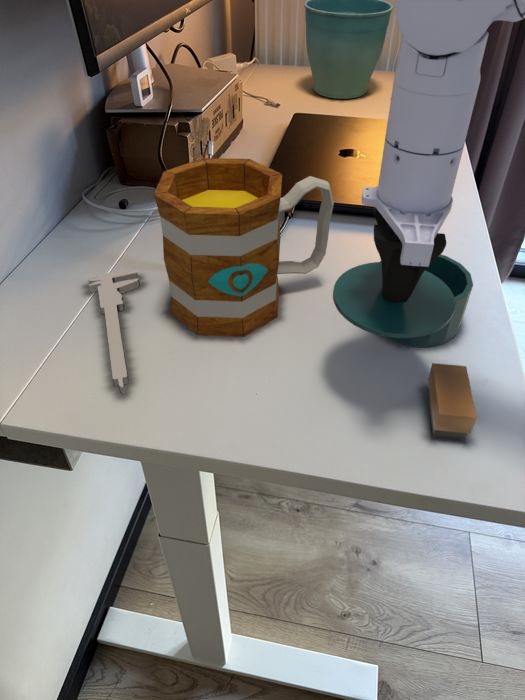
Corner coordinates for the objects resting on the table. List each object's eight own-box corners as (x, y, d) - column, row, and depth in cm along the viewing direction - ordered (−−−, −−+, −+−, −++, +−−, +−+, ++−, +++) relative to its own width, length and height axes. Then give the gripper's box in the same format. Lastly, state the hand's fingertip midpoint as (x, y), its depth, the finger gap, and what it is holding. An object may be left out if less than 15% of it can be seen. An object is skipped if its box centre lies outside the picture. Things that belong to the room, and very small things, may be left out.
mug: (184, 350, 59) (167, 227, 48) (159, 281, 68) (141, 166, 58) (348, 312, 63) (364, 193, 53) (304, 253, 73) (311, 142, 63)
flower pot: (380, 81, 128) (392, -4, 116) (381, 107, 115) (394, 14, 103) (304, 77, 130) (308, -6, 119) (296, 102, 117) (300, 11, 105)
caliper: (141, 277, 69) (91, 280, 68) (140, 270, 68) (89, 273, 68) (127, 393, 54) (63, 398, 53) (125, 386, 53) (60, 391, 53)
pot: (453, 294, 66) (465, 253, 62) (464, 351, 58) (479, 308, 54) (368, 288, 67) (375, 247, 63) (369, 342, 59) (376, 299, 55)
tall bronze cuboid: (457, 391, 54) (466, 366, 52) (466, 442, 49) (476, 417, 47) (425, 387, 54) (432, 362, 52) (430, 438, 50) (438, 413, 47)
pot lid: (446, 275, 54) (457, 233, 50) (459, 349, 46) (474, 305, 42) (334, 266, 55) (339, 225, 52) (329, 337, 47) (333, 293, 44)
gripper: (369, 104, 46) (352, 244, 55) (369, 179, 35) (348, 337, 44) (455, 108, 45) (423, 249, 54) (482, 186, 34) (436, 345, 43)
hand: (394, 289), depth 49 cm, fingers closed on pot lid, 2 cm apart
